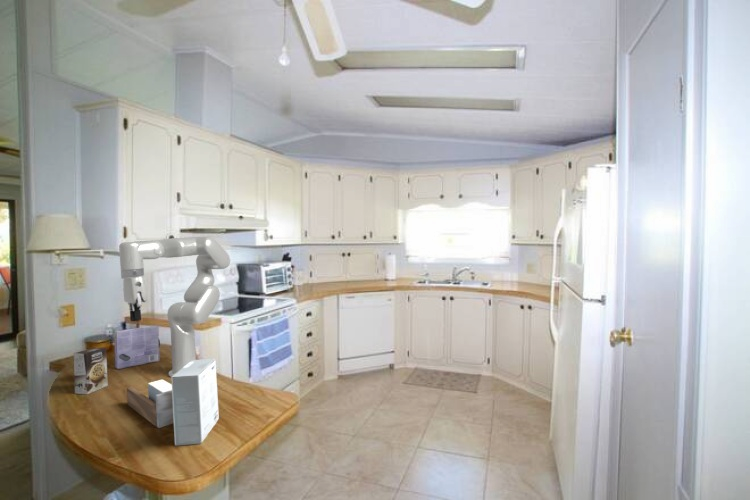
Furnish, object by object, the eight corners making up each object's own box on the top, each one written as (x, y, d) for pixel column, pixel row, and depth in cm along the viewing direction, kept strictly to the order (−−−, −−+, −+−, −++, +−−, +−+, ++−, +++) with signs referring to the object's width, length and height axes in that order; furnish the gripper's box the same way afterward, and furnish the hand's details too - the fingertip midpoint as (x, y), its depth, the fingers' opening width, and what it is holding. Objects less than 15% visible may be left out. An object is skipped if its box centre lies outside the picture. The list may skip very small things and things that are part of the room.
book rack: (155, 396, 145) (154, 369, 145) (189, 417, 125) (187, 387, 125) (127, 404, 138) (126, 376, 138) (158, 428, 118) (156, 396, 118)
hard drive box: (194, 421, 123) (192, 359, 122) (219, 419, 123) (216, 358, 123) (173, 446, 107) (170, 376, 107) (201, 444, 108) (198, 374, 108)
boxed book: (163, 407, 134) (161, 379, 134) (179, 418, 125) (178, 388, 125) (149, 412, 131) (147, 382, 131) (164, 423, 122) (163, 392, 121)
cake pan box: (159, 358, 196) (157, 324, 195) (162, 360, 192) (160, 325, 192) (114, 367, 182) (113, 331, 182) (117, 370, 178) (115, 332, 178)
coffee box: (87, 394, 149) (86, 353, 148) (74, 393, 150) (72, 352, 150) (108, 385, 158) (106, 347, 157) (95, 385, 159) (94, 346, 159)
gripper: (151, 273, 146) (154, 320, 147) (135, 272, 155) (138, 316, 156) (129, 275, 140) (132, 325, 141) (114, 274, 150) (117, 320, 150)
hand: (135, 320), depth 149 cm, fingers closed
